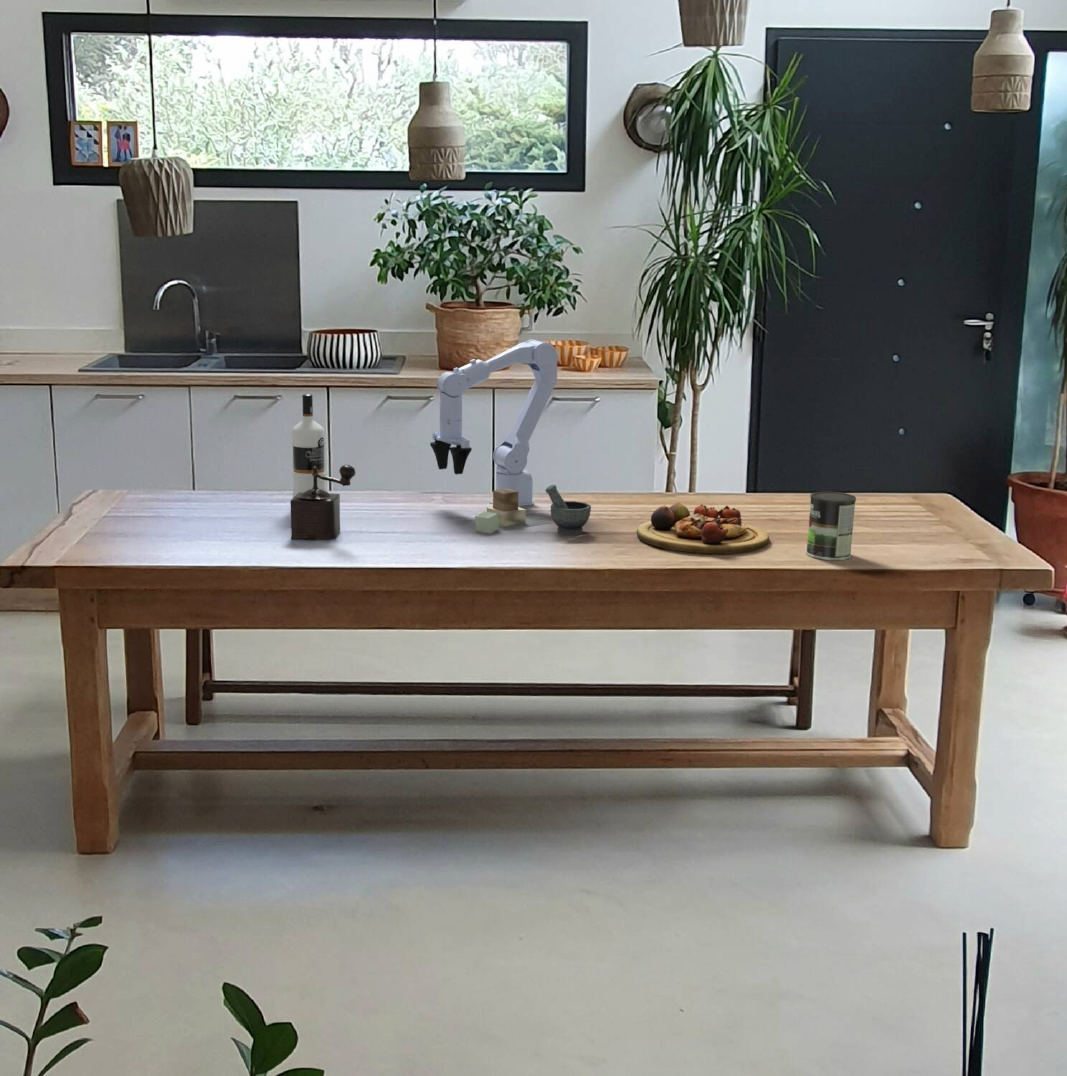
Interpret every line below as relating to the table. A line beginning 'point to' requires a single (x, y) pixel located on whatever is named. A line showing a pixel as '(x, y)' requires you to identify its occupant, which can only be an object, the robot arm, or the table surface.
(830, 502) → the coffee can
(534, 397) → the robot arm
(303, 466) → the vodka
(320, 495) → the manual coffee grinder
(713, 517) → the wooden plate with food
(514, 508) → the walnut cube
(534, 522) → the slate mat
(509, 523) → the beech block
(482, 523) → the sage block
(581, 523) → the mortar and pestle
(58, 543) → the table surface
